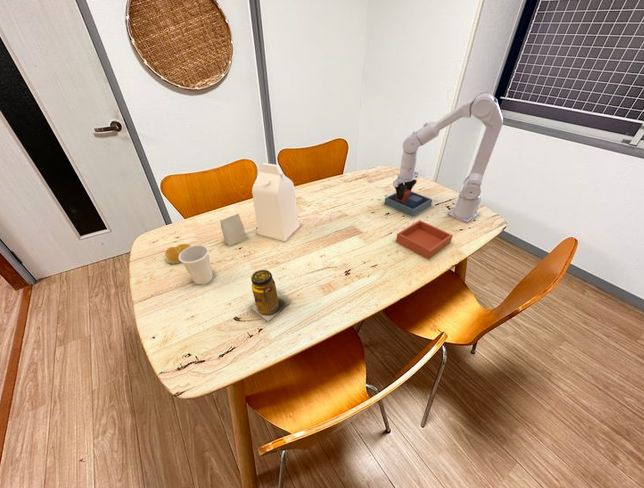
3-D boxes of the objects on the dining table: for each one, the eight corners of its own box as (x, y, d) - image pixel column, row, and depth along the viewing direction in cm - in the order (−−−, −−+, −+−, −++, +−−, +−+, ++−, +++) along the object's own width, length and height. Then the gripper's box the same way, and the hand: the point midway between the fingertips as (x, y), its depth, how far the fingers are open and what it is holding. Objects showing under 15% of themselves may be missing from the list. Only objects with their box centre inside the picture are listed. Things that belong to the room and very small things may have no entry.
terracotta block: (401, 196, 124) (402, 187, 121) (409, 199, 121) (411, 190, 118) (395, 199, 122) (396, 190, 119) (403, 203, 119) (405, 193, 116)
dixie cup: (201, 291, 83) (190, 266, 77) (183, 281, 86) (172, 256, 80) (222, 274, 88) (214, 250, 82) (205, 266, 92) (196, 241, 86)
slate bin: (403, 195, 129) (404, 188, 127) (430, 207, 120) (432, 199, 118) (384, 205, 122) (385, 197, 120) (411, 218, 113) (413, 210, 111)
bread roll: (197, 257, 95) (193, 248, 93) (169, 267, 92) (164, 258, 89) (191, 245, 101) (188, 236, 98) (165, 254, 97) (160, 245, 95)
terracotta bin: (417, 227, 107) (419, 220, 105) (450, 243, 99) (452, 235, 97) (395, 241, 100) (397, 233, 98) (428, 259, 92) (430, 251, 90)
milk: (299, 225, 110) (294, 161, 94) (284, 241, 102) (275, 173, 86) (274, 219, 114) (264, 156, 98) (258, 234, 106) (244, 168, 90)
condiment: (250, 308, 77) (242, 277, 70) (273, 291, 82) (267, 260, 75) (268, 321, 73) (260, 290, 66) (290, 303, 78) (286, 271, 71)
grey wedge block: (246, 238, 104) (240, 215, 98) (229, 246, 100) (222, 222, 94) (241, 234, 106) (236, 211, 100) (225, 241, 103) (218, 218, 96)
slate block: (412, 203, 121) (413, 194, 118) (420, 207, 119) (422, 198, 116) (405, 207, 119) (407, 198, 116) (414, 211, 116) (416, 201, 114)
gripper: (410, 159, 118) (405, 189, 127) (388, 168, 111) (384, 199, 120) (424, 164, 114) (418, 194, 122) (403, 173, 107) (398, 205, 115)
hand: (402, 197), depth 121 cm, fingers closed on terracotta block, 4 cm apart
